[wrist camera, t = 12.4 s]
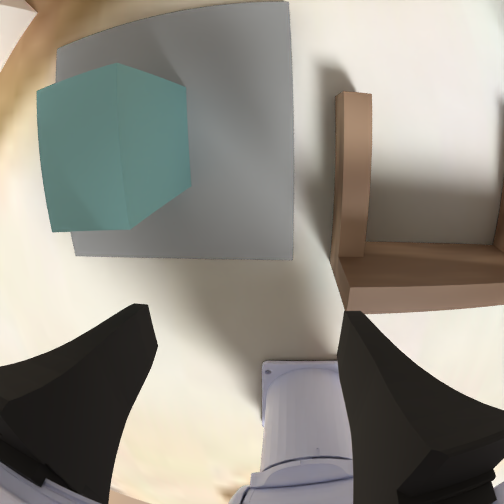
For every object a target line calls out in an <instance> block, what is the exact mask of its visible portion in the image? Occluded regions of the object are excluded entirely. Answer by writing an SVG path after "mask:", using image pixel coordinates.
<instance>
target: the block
mask: <svg viewBox="0 0 504 504" xmlns="http://www.w3.org/2000/svg"><path fill="white" fill-rule="evenodd" d="M37 124H38V140H39V152H40V161H41V170H42V178H43V185H44V191H45V197H46V203H47V209H48V214H49V219H50V224H51V229H52V232H72V231H100V230H130V229H132V228H133V227H134V226H136V225H137V224H138V223H140V222H141V221H142V220H144V219H145V218H147V217H148V216H149V215H151V214H152V213H154V212H155V211H156V210H158V209H159V208H161V207H162V206H163V205H165V204H166V203H168V202H169V201H170V200H172V199H173V198H175V197H176V196H178V195H179V194H181V193H182V192H184V191H185V190H187V189H188V188H190V187H191V174H190V159H189V143H188V124H187V101H186V87H184V86H182V85H179V84H177V83H174V82H171V81H169V80H166V79H164V78H161V77H158V76H155V75H153V74H150V73H147V72H144V71H141V70H138V69H135V68H132V67H129V66H126V65H123V64H120V63H114V64H110V65H107V66H103V67H100V68H97V69H94V70H91V71H88V72H85V73H82V74H79V75H76V76H73V77H70V78H68V79H65V80H62V81H60V82H57V83H55V84H52V85H50V86H47V87H45V88H43V89H40V90H38V91H37Z"/></svg>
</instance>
